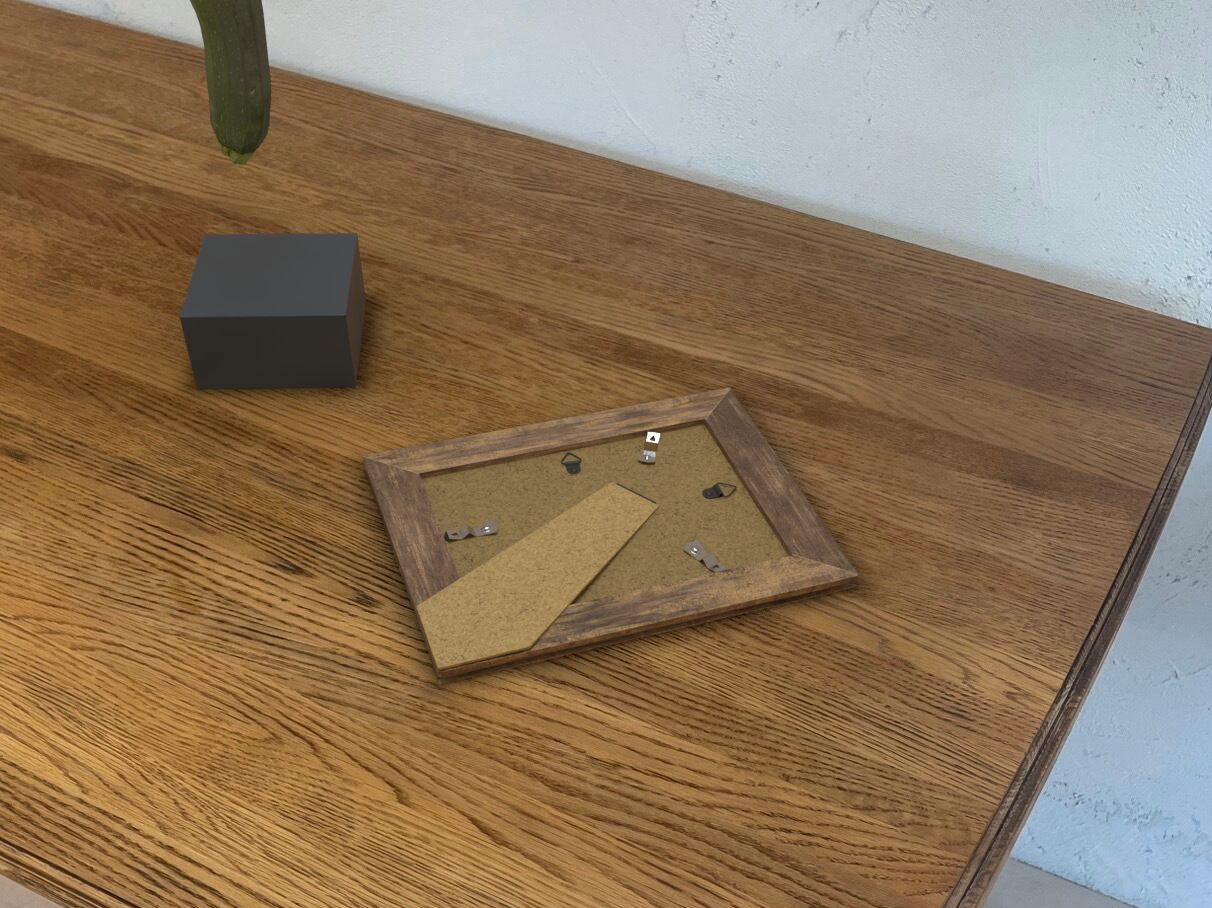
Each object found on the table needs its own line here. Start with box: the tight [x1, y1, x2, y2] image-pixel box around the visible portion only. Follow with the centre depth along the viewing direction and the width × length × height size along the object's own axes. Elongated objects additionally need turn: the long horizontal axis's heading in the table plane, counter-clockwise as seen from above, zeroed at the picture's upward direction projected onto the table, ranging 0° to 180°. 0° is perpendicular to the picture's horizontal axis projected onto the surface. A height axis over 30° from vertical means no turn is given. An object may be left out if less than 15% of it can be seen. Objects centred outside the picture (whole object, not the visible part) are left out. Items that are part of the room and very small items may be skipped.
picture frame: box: [362, 387, 859, 685], centre depth 78 cm, size 19×2×24 cm
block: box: [179, 232, 367, 391], centre depth 88 cm, size 10×10×6 cm
